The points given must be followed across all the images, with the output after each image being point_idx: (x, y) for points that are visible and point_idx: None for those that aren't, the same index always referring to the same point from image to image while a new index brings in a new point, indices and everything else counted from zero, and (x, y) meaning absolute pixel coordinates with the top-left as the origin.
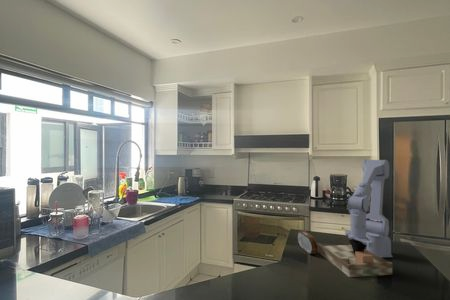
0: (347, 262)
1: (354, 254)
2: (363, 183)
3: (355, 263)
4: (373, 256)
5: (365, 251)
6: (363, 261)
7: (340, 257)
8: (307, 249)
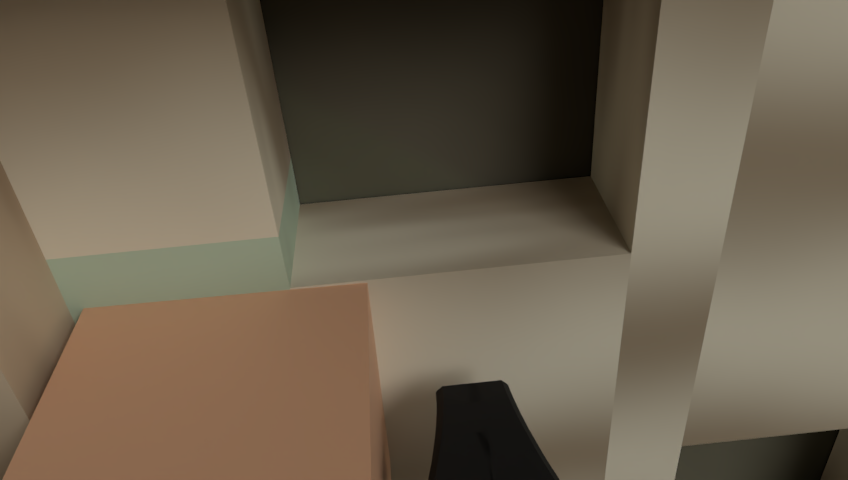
0: (601, 172)
1: (521, 435)
2: None
3: (354, 273)
4: None
5: None
6: (32, 446)
7: (732, 74)
8: None
